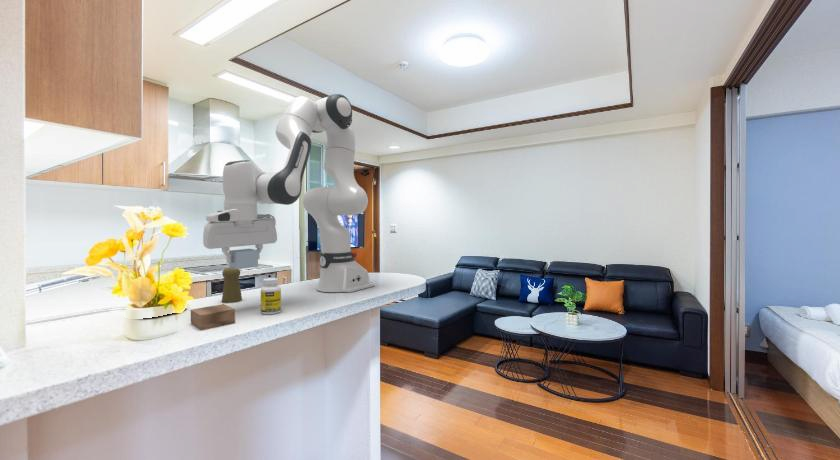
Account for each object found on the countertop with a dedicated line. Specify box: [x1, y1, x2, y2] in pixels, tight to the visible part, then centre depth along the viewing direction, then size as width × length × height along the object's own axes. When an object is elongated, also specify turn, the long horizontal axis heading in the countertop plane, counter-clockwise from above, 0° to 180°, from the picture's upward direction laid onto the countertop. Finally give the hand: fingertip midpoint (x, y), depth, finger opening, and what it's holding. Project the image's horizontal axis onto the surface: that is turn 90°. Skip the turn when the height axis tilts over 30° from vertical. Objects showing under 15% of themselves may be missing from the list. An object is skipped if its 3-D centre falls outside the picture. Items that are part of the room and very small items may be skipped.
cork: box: [221, 267, 243, 304], centre depth 119 cm, size 6×6×11 cm
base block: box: [190, 303, 236, 331], centre depth 94 cm, size 8×8×4 cm
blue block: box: [228, 248, 259, 270], centre depth 108 cm, size 6×6×5 cm
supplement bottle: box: [260, 277, 282, 316], centre depth 104 cm, size 5×5×10 cm
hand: (243, 260), depth 108 cm, fingers closed on blue block, 6 cm apart
